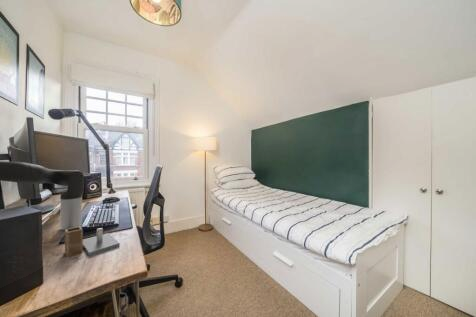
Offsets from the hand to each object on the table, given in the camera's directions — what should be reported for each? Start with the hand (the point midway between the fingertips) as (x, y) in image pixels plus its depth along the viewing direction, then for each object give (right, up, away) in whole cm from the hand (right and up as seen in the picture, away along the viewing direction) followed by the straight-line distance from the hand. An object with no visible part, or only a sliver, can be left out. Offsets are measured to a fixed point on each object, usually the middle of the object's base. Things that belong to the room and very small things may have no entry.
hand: (33, 226), depth 69 cm
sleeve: (+7, -15, +9) cm, 19 cm away
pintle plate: (+13, -15, +16) cm, 25 cm away
